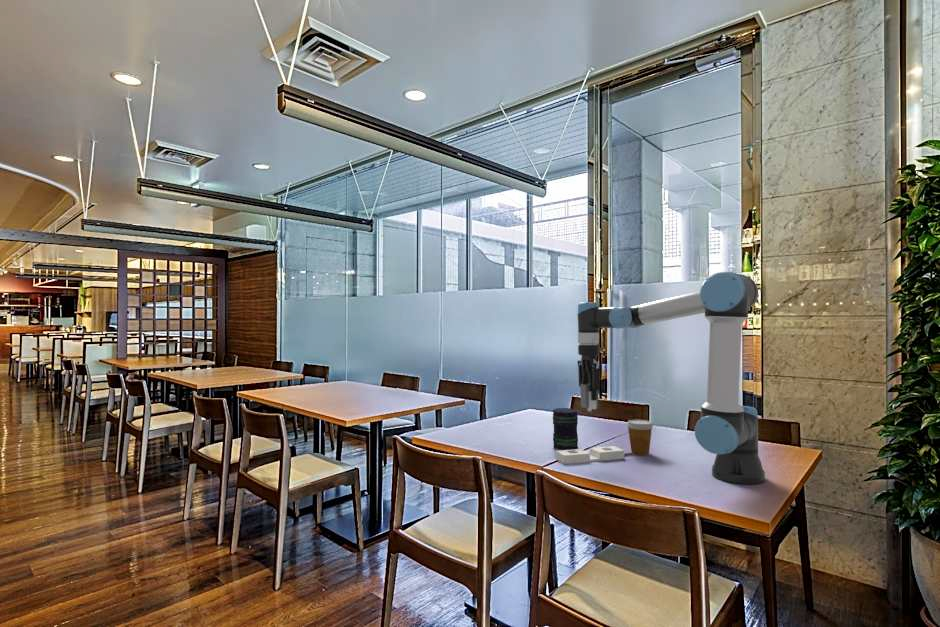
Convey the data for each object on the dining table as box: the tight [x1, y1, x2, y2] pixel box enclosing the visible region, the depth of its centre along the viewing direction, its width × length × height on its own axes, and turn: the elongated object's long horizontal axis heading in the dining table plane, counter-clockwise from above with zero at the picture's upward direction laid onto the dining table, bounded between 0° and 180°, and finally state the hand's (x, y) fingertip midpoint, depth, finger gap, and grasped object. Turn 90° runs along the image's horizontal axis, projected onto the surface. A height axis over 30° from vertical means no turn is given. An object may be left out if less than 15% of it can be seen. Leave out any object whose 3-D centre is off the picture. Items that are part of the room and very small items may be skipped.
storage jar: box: [552, 407, 579, 451], centre depth 206 cm, size 10×10×15 cm
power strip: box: [555, 445, 635, 465], centre depth 189 cm, size 7×30×3 cm, turn 106°
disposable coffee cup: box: [626, 419, 654, 456], centre depth 196 cm, size 10×10×12 cm
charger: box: [579, 383, 599, 413], centre depth 189 cm, size 4×5×10 cm
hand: (589, 407), depth 189 cm, fingers closed on charger, 4 cm apart
